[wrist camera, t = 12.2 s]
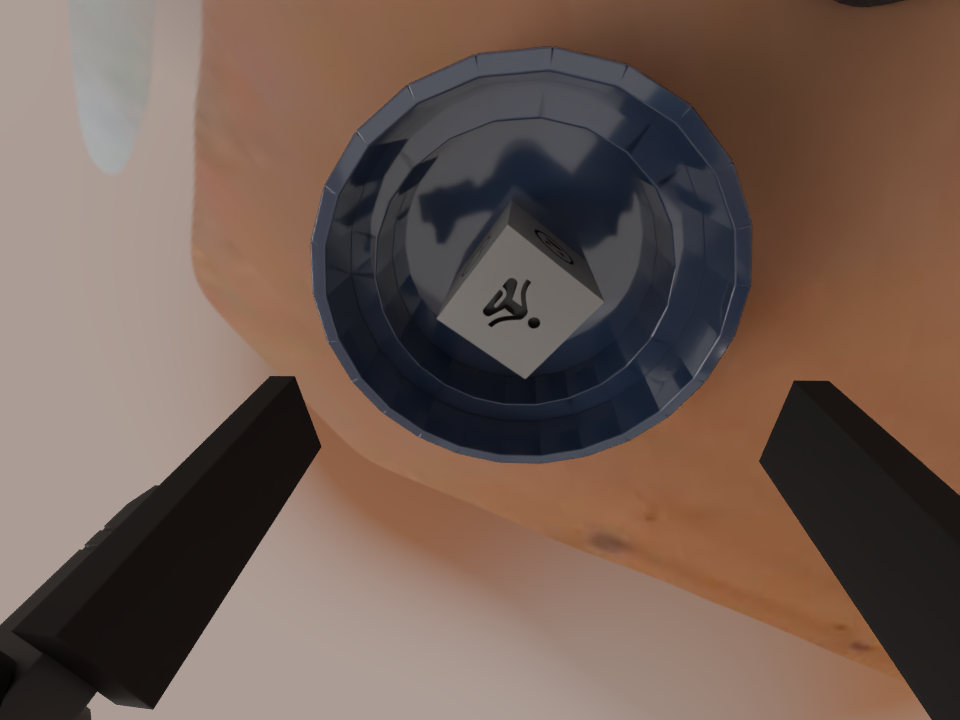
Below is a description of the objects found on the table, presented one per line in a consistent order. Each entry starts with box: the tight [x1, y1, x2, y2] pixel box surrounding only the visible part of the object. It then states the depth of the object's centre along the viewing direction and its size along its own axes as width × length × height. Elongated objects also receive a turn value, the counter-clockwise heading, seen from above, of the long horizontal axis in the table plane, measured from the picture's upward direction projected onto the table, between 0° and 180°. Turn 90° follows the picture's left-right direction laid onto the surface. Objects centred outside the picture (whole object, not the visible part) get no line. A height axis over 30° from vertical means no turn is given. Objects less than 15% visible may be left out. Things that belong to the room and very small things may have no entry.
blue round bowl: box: [311, 46, 752, 464], centre depth 18 cm, size 17×17×6 cm
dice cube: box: [436, 200, 604, 379], centre depth 18 cm, size 5×5×5 cm
